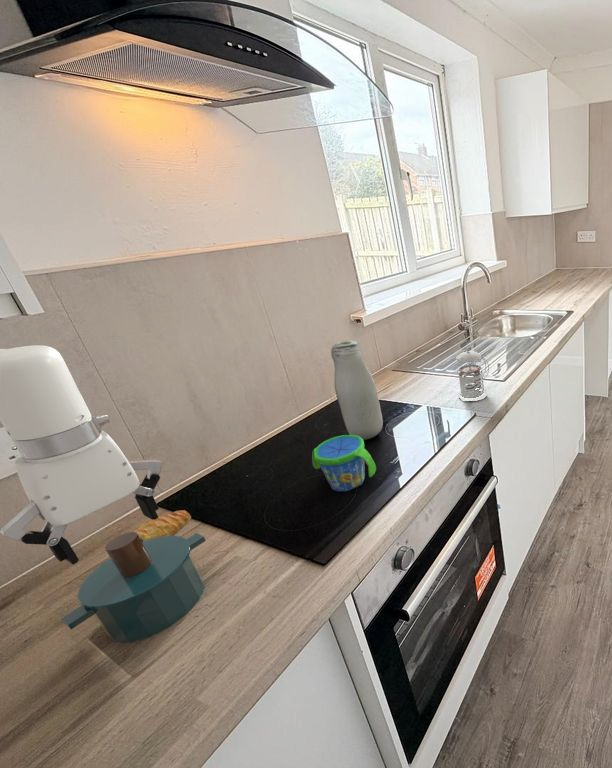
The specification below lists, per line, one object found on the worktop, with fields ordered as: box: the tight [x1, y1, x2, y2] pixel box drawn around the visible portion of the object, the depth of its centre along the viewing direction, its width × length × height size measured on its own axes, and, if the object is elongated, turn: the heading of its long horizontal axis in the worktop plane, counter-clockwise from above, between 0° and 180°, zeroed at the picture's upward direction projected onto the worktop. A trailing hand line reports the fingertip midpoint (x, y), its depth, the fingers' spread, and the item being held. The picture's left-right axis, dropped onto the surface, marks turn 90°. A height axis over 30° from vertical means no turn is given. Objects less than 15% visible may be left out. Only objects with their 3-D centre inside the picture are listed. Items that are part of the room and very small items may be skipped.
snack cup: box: [311, 434, 377, 493], centre depth 94 cm, size 16×10×10 cm
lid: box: [77, 531, 192, 609], centre depth 64 cm, size 14×14×7 cm
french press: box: [455, 321, 490, 403], centre depth 132 cm, size 10×12×25 cm
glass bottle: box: [330, 340, 384, 441], centre depth 110 cm, size 10×10×28 cm
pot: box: [60, 532, 207, 644], centre depth 66 cm, size 13×18×8 cm
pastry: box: [131, 509, 192, 542], centre depth 84 cm, size 9×7×4 cm
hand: (114, 536), depth 62 cm, fingers open, 9 cm apart
